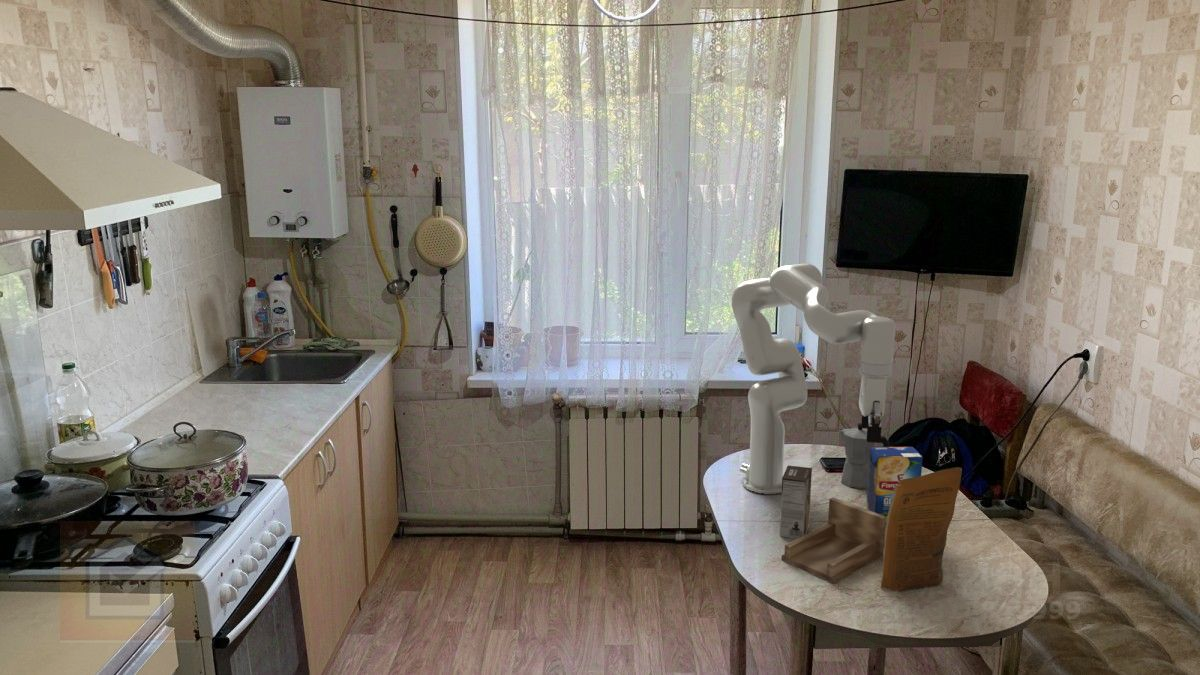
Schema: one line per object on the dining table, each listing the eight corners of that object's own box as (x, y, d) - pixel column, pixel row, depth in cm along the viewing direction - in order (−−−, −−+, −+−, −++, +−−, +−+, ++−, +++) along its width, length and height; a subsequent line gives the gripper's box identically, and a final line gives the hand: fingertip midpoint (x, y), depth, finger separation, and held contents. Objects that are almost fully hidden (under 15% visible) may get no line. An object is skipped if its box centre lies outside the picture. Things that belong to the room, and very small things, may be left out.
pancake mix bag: (960, 586, 203) (972, 470, 196) (886, 598, 198) (896, 480, 191) (941, 572, 209) (952, 459, 202) (869, 583, 204) (878, 469, 197)
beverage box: (916, 538, 226) (923, 456, 220) (872, 539, 225) (878, 457, 220) (906, 526, 232) (913, 446, 227) (864, 527, 232) (869, 447, 227)
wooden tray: (781, 559, 215) (783, 520, 213) (830, 534, 228) (832, 497, 226) (834, 583, 204) (837, 542, 202) (883, 555, 217) (886, 516, 215)
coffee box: (784, 521, 236) (787, 464, 232) (809, 525, 234) (812, 467, 230) (779, 536, 227) (781, 477, 223) (804, 540, 225) (807, 480, 221)
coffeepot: (828, 481, 261) (831, 423, 256) (841, 471, 268) (845, 414, 264) (879, 495, 251) (884, 434, 247) (892, 484, 259) (897, 425, 254)
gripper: (855, 357, 225) (850, 422, 229) (864, 377, 209) (859, 446, 213) (886, 359, 224) (881, 423, 228) (897, 379, 207) (891, 448, 212)
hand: (870, 434), depth 221 cm, fingers open, 9 cm apart
